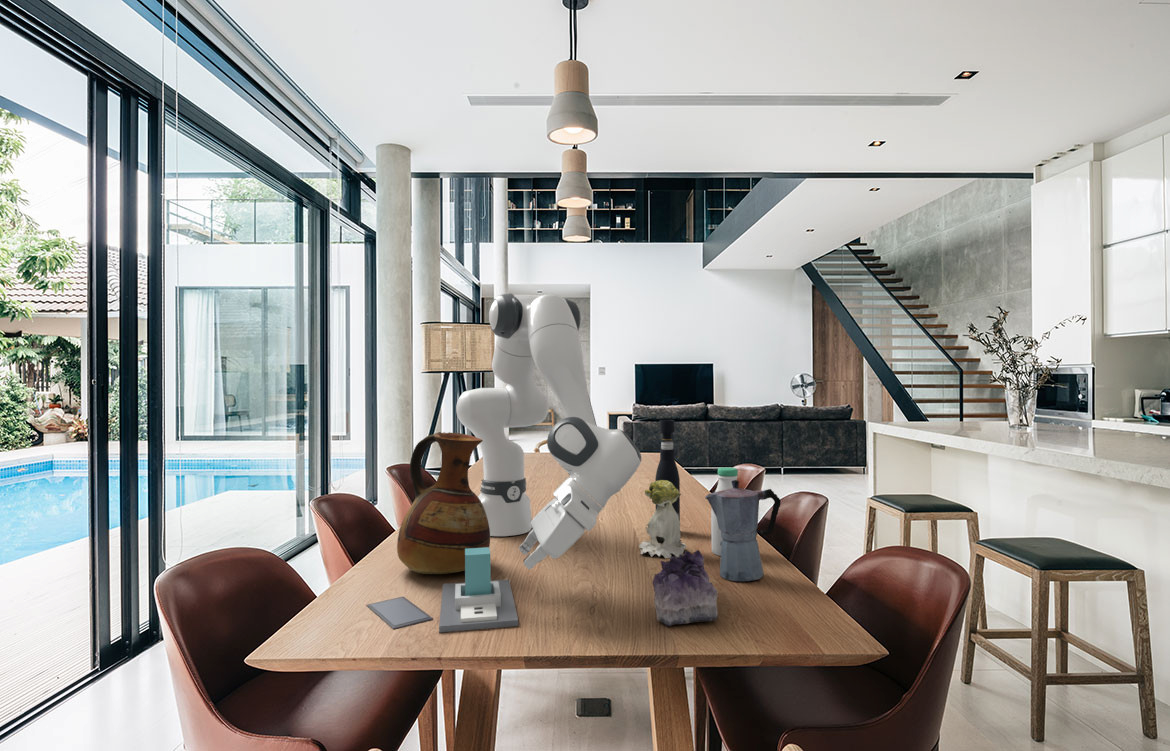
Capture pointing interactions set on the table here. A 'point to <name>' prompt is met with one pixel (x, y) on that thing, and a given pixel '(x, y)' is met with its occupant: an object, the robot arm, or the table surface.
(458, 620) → the grey socket base board
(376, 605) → the phone
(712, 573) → the table surface
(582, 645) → the table surface
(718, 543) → the milk bottle
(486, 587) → the teal box with slot
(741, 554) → the moka pot
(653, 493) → the green-topped white figurine
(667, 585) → the geode
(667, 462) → the wine bottle
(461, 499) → the ceramic pitcher
